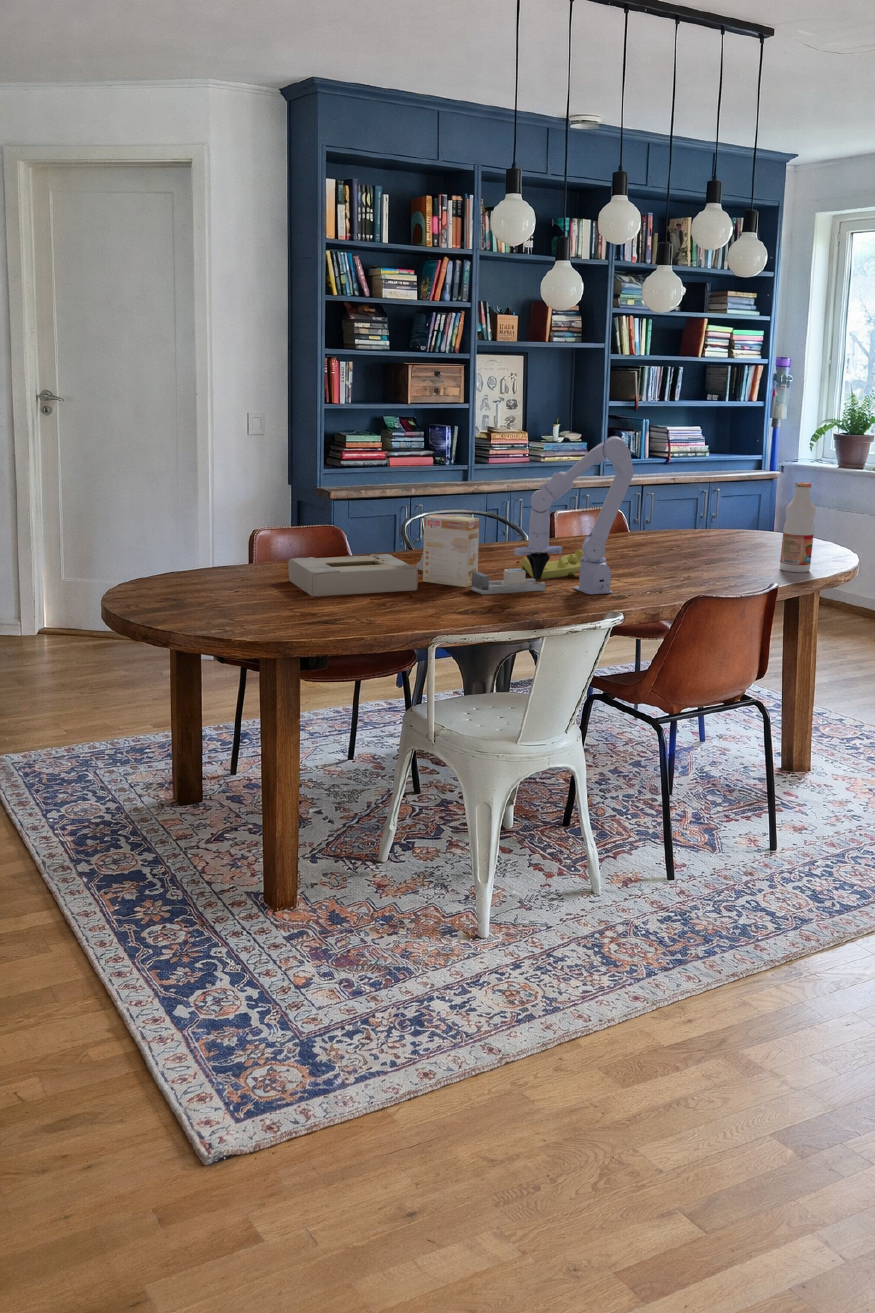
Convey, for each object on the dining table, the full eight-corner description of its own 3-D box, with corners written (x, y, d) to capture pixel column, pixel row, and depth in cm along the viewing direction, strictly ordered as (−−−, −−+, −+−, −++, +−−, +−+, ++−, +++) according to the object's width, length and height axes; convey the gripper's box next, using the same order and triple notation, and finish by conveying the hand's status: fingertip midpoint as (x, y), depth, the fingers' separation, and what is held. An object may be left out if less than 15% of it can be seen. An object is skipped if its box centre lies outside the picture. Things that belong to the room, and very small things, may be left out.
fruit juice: (776, 566, 385) (785, 480, 378) (806, 568, 384) (815, 481, 377) (782, 572, 376) (791, 484, 369) (812, 573, 375) (821, 485, 368)
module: (524, 586, 338) (525, 570, 337) (509, 587, 336) (509, 571, 335) (519, 583, 341) (519, 567, 340) (503, 584, 339) (504, 568, 338)
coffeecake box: (478, 584, 346) (480, 517, 341) (466, 588, 340) (468, 520, 335) (434, 578, 353) (435, 513, 348) (421, 581, 347) (423, 515, 342)
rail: (544, 590, 339) (545, 572, 337) (481, 594, 331) (482, 576, 330) (533, 585, 345) (534, 568, 344) (471, 589, 337) (472, 571, 336)
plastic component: (535, 572, 353) (521, 553, 360) (530, 592, 357) (517, 573, 364) (593, 565, 360) (578, 546, 366) (588, 584, 364) (574, 565, 371)
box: (389, 577, 356) (287, 582, 344) (390, 551, 354) (287, 556, 342) (419, 593, 336) (311, 599, 323) (420, 566, 334) (311, 571, 321)
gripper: (522, 535, 331) (520, 583, 335) (568, 533, 337) (565, 580, 340) (511, 531, 337) (509, 578, 341) (556, 529, 343) (554, 575, 346)
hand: (537, 579), depth 341 cm, fingers closed
